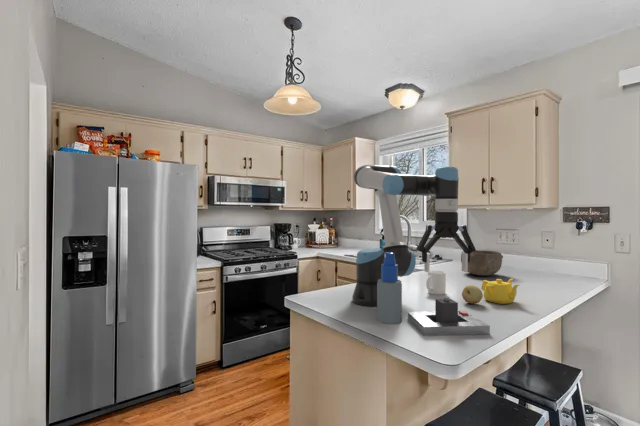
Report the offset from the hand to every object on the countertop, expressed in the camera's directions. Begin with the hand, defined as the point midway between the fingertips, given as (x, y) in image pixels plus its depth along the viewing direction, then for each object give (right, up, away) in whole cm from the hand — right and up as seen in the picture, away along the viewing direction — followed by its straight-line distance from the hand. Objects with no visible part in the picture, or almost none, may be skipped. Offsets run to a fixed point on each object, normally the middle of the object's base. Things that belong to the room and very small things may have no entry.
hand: (445, 271), depth 117 cm
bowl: (+58, -19, +93) cm, 111 cm away
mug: (+12, -19, +46) cm, 51 cm away
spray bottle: (-19, -19, +6) cm, 27 cm away
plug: (0, -19, -1) cm, 19 cm away
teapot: (+37, -19, +31) cm, 52 cm away
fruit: (+22, -19, +28) cm, 40 cm away
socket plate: (0, -19, -1) cm, 19 cm away
